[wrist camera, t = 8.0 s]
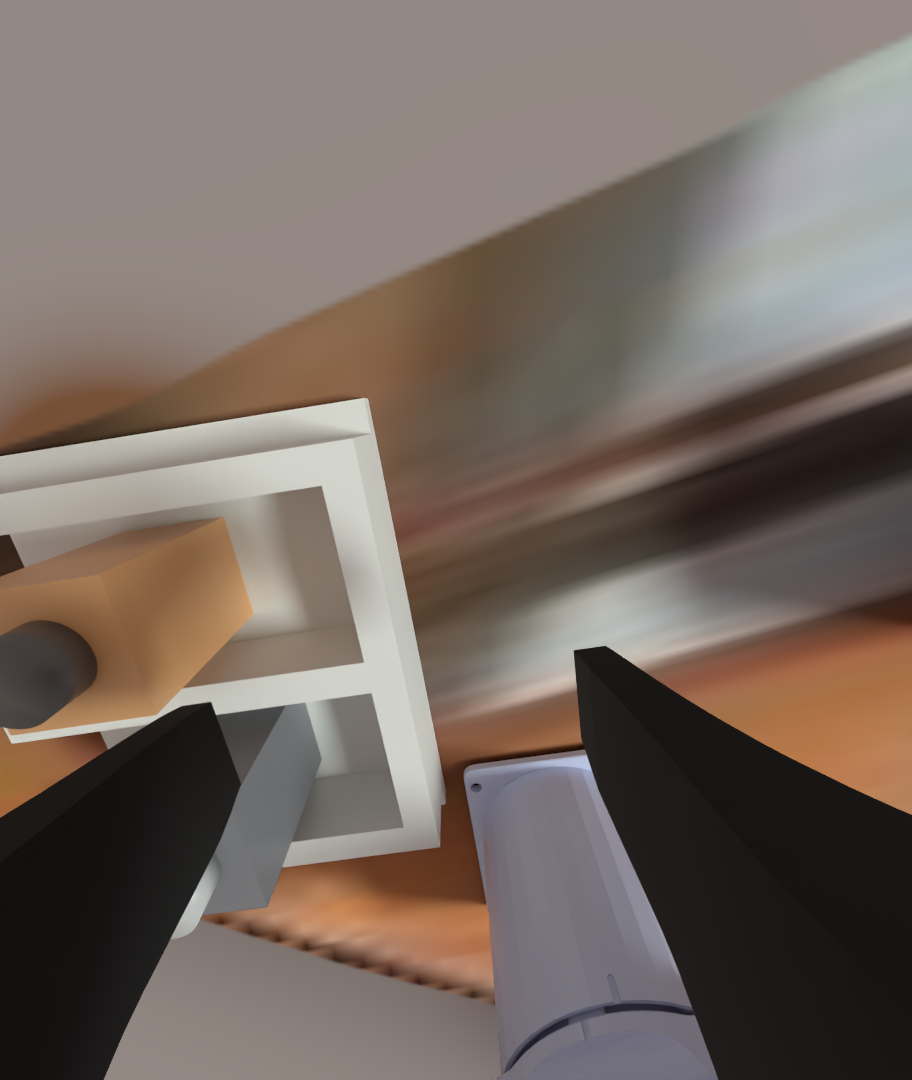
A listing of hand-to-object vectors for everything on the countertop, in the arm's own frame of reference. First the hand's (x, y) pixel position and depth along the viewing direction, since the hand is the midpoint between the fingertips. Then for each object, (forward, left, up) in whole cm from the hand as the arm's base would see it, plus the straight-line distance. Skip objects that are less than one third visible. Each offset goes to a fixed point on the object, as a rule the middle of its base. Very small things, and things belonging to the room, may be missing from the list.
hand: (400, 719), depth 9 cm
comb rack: (-3, +8, -9) cm, 13 cm away
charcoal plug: (-6, +8, -9) cm, 13 cm away
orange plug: (+1, +9, -9) cm, 13 cm away
